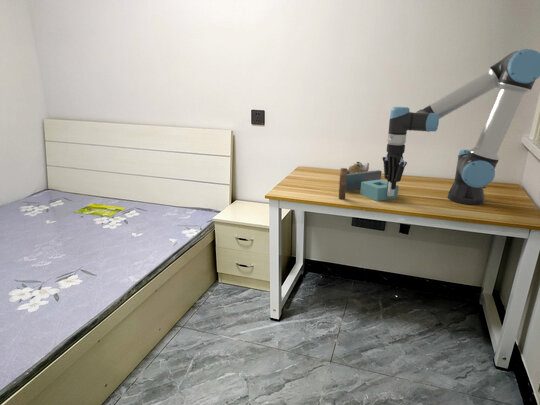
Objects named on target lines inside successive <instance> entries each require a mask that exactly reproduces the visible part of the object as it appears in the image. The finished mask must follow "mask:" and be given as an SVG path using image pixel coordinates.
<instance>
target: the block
mask: <svg viewBox="0 0 540 405" xmlns="http://www.w3.org/2000/svg"><path fill="white" fill-rule="evenodd" d="M387 184H388V181H387V180H384V179H382V178H381V179H380V180H372V181H365V182H361V189H360V191H359V192H360V194H359V195H362V196H363V197H366V198H368V199H370V200H373V201H376V202H380V201H387V200H392V199H398V193H399V186H400V185H399V184H396V189H395V191H394V196H387V191H388V188H387Z"/></svg>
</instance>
